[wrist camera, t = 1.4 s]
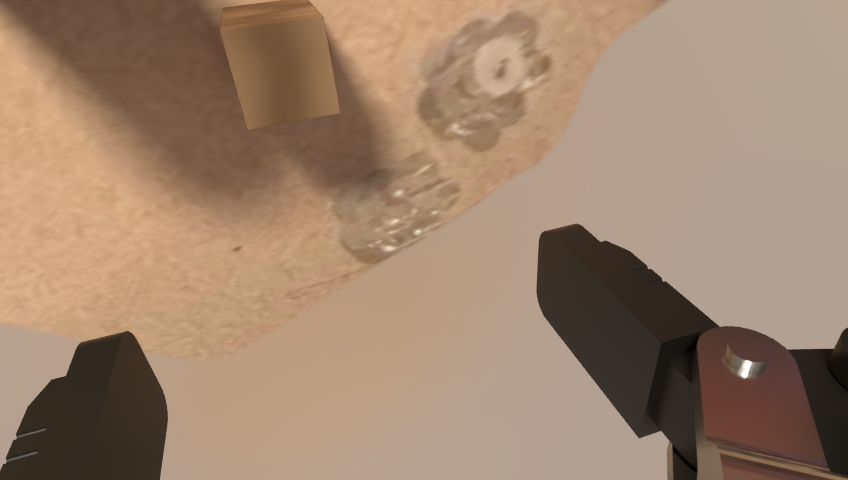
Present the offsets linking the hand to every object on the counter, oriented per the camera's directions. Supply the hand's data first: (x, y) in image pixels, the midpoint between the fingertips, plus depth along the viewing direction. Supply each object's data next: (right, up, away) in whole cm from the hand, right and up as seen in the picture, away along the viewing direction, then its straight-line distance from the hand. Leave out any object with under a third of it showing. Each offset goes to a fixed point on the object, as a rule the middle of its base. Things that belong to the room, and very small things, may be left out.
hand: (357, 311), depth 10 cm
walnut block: (-8, +14, +23) cm, 28 cm away
